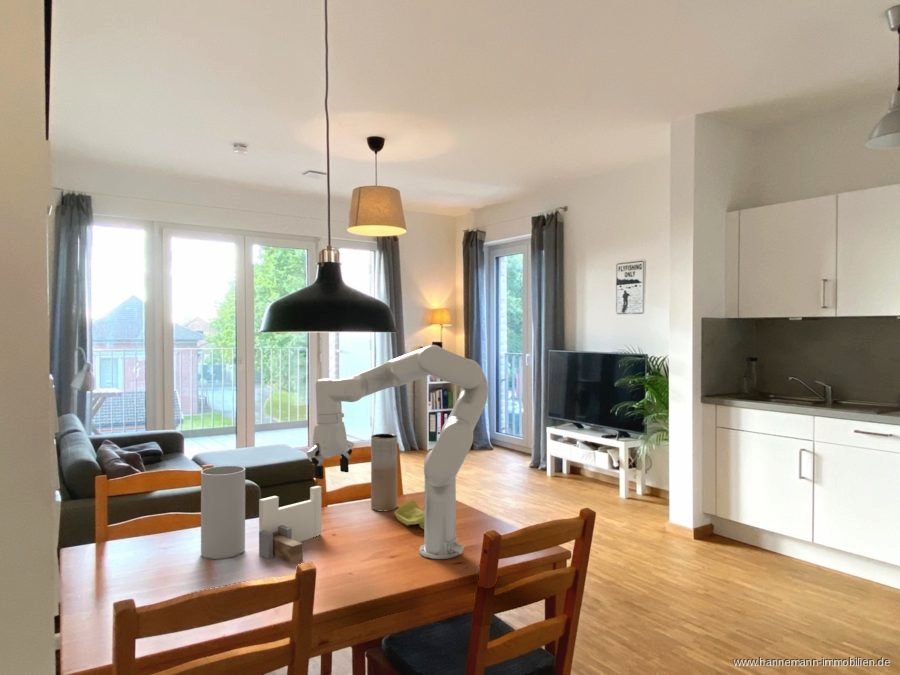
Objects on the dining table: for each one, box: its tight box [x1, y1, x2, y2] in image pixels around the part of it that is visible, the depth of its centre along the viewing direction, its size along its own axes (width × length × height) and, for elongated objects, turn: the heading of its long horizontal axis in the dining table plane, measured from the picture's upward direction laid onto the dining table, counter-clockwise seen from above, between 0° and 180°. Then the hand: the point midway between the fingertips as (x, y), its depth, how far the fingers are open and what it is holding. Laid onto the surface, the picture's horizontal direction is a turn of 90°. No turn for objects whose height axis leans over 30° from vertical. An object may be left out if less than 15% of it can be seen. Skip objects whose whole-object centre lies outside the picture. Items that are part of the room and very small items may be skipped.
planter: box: [370, 433, 398, 512], centre depth 224 cm, size 10×10×28 cm
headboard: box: [258, 485, 322, 559], centre depth 183 cm, size 7×23×16 cm, turn 140°
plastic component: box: [394, 499, 424, 530], centre depth 204 cm, size 20×7×10 cm
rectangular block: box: [272, 531, 304, 565], centre depth 173 cm, size 13×4×6 cm, turn 50°
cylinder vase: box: [200, 465, 246, 560], centre depth 177 cm, size 12×12×25 cm
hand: (332, 475), depth 177 cm, fingers open, 9 cm apart
